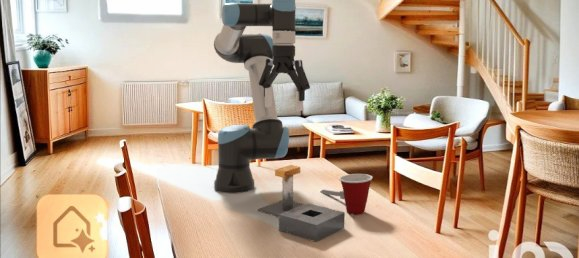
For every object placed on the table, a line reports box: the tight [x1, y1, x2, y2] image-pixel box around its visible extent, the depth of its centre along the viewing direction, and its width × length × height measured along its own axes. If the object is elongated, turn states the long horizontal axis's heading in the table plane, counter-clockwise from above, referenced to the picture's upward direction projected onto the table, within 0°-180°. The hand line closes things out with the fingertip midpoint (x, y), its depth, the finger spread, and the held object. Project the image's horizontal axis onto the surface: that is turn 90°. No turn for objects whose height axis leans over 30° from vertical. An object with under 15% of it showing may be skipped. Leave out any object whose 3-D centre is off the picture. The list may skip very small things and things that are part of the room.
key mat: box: [257, 199, 305, 218], centre depth 182 cm, size 16×14×1 cm
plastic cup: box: [338, 173, 374, 216], centre depth 180 cm, size 11×11×12 cm
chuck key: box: [274, 164, 301, 211], centre depth 179 cm, size 8×4×14 cm, turn 140°
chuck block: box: [278, 202, 346, 243], centre depth 164 cm, size 14×14×5 cm
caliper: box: [320, 188, 345, 200], centre depth 193 cm, size 20×1×6 cm, turn 28°
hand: (283, 108), depth 184 cm, fingers open, 13 cm apart
